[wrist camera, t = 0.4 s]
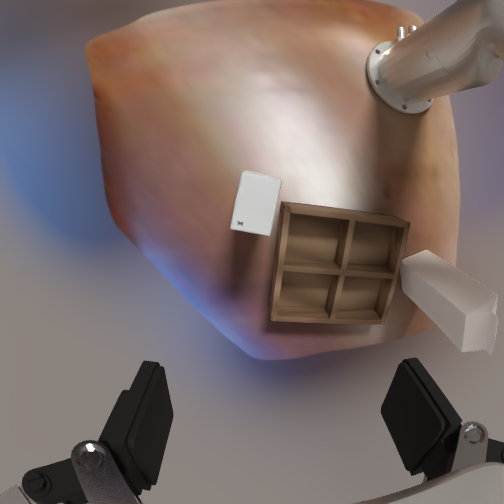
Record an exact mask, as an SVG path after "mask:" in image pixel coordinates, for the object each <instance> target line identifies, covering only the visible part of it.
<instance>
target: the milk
mask: <svg viewBox="0 0 504 504" xmlns="http://www.w3.org/2000/svg"><path fill="white" fill-rule="evenodd" d="M400 274H401V283H402V291H403V292H404V293H405V294H406V295H407V296H408V297H409V298H410V299H411V300H412V301H413V302H414V303H415V304H416V305H417V306H418V307H419V308H420V309H421V310H422V311H423V312H424V313H425V314H426V315H427V316H428V317H429V318H430V319H431V320H432V321H433V322H434V323H435V324H436V325H437V326H438V327H439V328H440V329H441V330H442V331H443V332H444V334H445V335H446V336H447V337H448V338H449V339H450V340H451V341H452V342H453V343H454V344H455V345H456V346H457V348H458V349H459V350H460V351H461V352H470V351H478V350H486V351H487V352H488V353H489V354H490V355H491V354H492V351H493V346H494V342H495V337H496V332H497V326H498V317H497V315H496V309H497V301H498V295H497V294H495V293H494V292H492V291H491V290H489V289H488V288H487V287H485V286H484V285H482V284H481V283H479V282H478V281H476V280H475V279H473V278H472V277H470V276H469V275H467V274H466V273H464V272H462V271H461V270H459V269H458V268H456V267H455V266H453V265H451V264H450V263H448V262H447V261H445V260H443V259H442V258H440V257H438V256H437V255H435V254H433V253H432V252H430V251H428V250H424V251H421V252H419V253H416V254H414V255H411V256H409V257H406V258H404V259H403V260H402V264H401V268H400Z"/></svg>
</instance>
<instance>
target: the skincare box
mask: <svg viewBox="0 0 504 504" xmlns="http://www.w3.org/2000/svg"><path fill="white" fill-rule="evenodd" d="M281 183H282V180H280V179H278V178H275V177H273V176H269V175H265V174H260V173H256V172H251V171H246V170H245V171H243V172H242V174H241V178H240V183H239V188H238V193H237V197H236V200H235V206H234V211H233V216H232V221H231V227H230V229H231V230H238V231H243V232H249V233H254V234H260V235H265V236H270V233H271V229H272V225H273V221H274V217H275V212H276V207H277V202H278V197H279V193H280V188H281Z"/></svg>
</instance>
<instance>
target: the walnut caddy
mask: <svg viewBox="0 0 504 504" xmlns="http://www.w3.org/2000/svg"><path fill="white" fill-rule="evenodd" d="M409 227H410V223H409V222H407V221H405V220H403V219H400V218H398V217H395V216H389V215H382V214H376V213H369V212H362V211H355V210H348V209H341V208H333V207H325V206H317V205H309V204H300V203H291V202H282V201H281V210H280V219H279V228H278V237H277V245H276V253H275V262H274V270H273V278H272V286H271V294H270V301H269V312H270V321H284V322H302V323H327V324H385V320H386V317H387V314H388V311H389V308H390V304H391V301H392V298H393V294H394V291H395V287H396V283H397V280H398V276H399V272H400V268H401V264H402V260H403V256H404V251H405V247H406V242H407V237H408V232H409Z"/></svg>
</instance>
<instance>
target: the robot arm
mask: <svg viewBox="0 0 504 504" xmlns="http://www.w3.org/2000/svg"><path fill="white" fill-rule="evenodd" d="M408 33H409V34H408V35H407V36H406V37H405V29H404V28H403V27H397V35H398V38H397V39H395V40H394V41H386V42H382V43H380V44H378V45H377V46H376V47H374V48H373V50H372V51H371V52H370V54H369V56H368V59H367V73H368V77H369V80H370V83H371V85H372V87H373V89H374V90H375V92H376V93H377V94H378V96H379V97H380V98H381V99H382V100H383V101H384V102H385V103H386V104H387V105H389V106H390V107H391V108H393V109H395V110H397V111H399V112H402V113H407V114H416V113H420V112H423V111H425V110H427V109H428V108H429V107H430V106H431V104H432V103H433V101H434V98H437V97H441V96H444V95H448V94H452V93H456V92H460V91H464V90H468V89H472V88H477V87H481V86H485V85H488V84H490V83H491V82H492V81H493V80H494V79H495V78H496V77H497V75H498V73H499V71H500V68H501V65H502V61H503V62H504V0H457V1H455V2H454V3H453V4H451V5H450V6H449V7H447V8H446V9H445V10H443V11H442V12H440V13H439V14H437V15H436V16H434V17H433V18H431V19H430V20H429V21H427V22H426V23H424V24H423V25H421V26H420V27H415V26H409V27H408ZM375 82H376V83H377V84H376V83H375ZM381 414H382V417H383V419H384V421H385V423H386V425H387V428H388V430H389V432H390V434H391V436H392V439H393V441H394V443H395V445H396V448H397V450H398V452H399V455H400V457H401V459H402V461H403V464H404V466H405V468H406V470H407V471H410V473H411V476H413V475H416V474H419V473H422V472H424V474H425V476H424V479H423V481H422V484H420V485H417V486H414V487H411V488H408V489H405V490H402V491H399V492H396V493H393V494H389V495H386V496H382V497H379V498H375V499H371V500H367V501H362V502H358V503H353V504H504V442H499V441H496V440H492V439H489V438H488V432H487V430H486V428H485V427H484V426H483V425H482V424H480V423H478V422H473V421H472V422H467V423H465V424H464V425H463V426H462V425H461V422H462V420H461V418H460V417H459V415H458V414H457V412H456V411H455V409H454V408H453V406H452V405H451V404H450V402H449V401H448V399H447V398H446V396H445V395H444V394H443V392H442V391H441V389H440V388H439V387H438V385H437V384H436V383H435V381H434V380H433V378H432V377H431V376H430V375H429V373H428V372H427V370H426V369H425V368H424V366H423V365H422V364H421V363H420V361H419V360H418V359H417V358H410V359H404V360H403V361H402V363H400V364H399V366H398V368H397V371H396V373H395V376H394V378H393V381H392V383H391V386H390V388H389V390H388V393H387V395H386V397H385V400H384V402H383V404H382V406H381ZM172 421H173V409H172V404H171V400H170V395H169V390H168V385H167V380H166V375H165V370H164V367H162V366H160V364H159V363H158V362H151V361H143V363H142V365H141V367H140V369H139V371H138V373H137V375H136V377H135V379H134V381H133V383H132V385H131V388H130V390H123V391H122V392H121V394H120V396H119V398H118V400H117V402H116V404H115V406H114V408H113V410H112V412H111V414H110V416H109V419H108V420H107V423H106V425H105V427H104V429H103V431H102V433H101V435H100V438H99V440H98V441H95V440H86V441H82V442H80V443H78V444H77V445H76V446H75V447H74V448H73V450H72V452H71V458H69V459H66V460H63V461H60V462H56V463H54V464H50V465H47V466H43V467H39V468H35V469H32V470H30V471H28V472H27V473H26V474H25V475H24V477H23V479H22V485H21V486H19V487H18V486H17V485H15V486H13V487H11V488H10V489H8V490H6V491H5V492H3V493H2V494H0V504H143V502H142V501H141V499H140V498H139V495H141V493H142V489H144V490H149V491H150V489H151V485H156V483H157V479H158V476H159V471H160V467H161V463H162V459H163V455H164V451H165V447H166V444H167V439H168V436H169V432H170V428H171V424H172Z"/></svg>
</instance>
